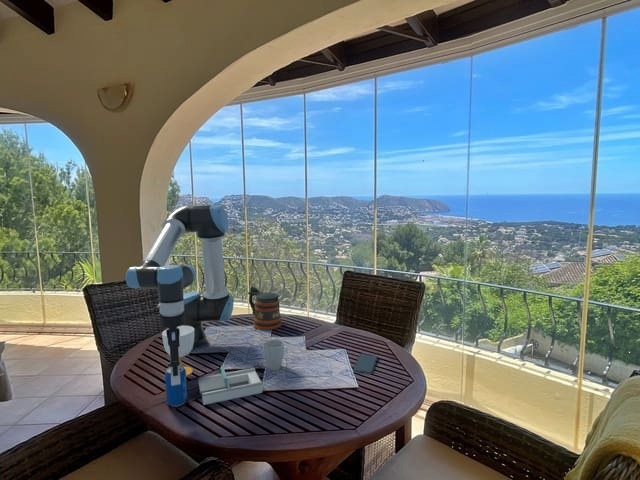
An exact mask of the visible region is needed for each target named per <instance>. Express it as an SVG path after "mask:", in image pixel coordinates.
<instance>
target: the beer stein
mask: <svg viewBox="0 0 640 480" xmlns="http://www.w3.org/2000/svg"><path fill="white" fill-rule="evenodd" d="M247 295H249V296H248V302H249V305H250V308H251V310H252V314H253V316H254V317H253V327H254V328H255V329H257V330H261V331H270V330H271V331H272V330H276V329H278V328H280V327H281V326H282V317H281V313H280V311H281V309H280V299H279V298H280V296H279V294H278V293H275V292H271V291H270V292H269V291H267V292H264V291H260V290H259V289H258V288H257V287H256V286H252V285H251V286H250V290H249V291H248V292H247ZM254 296H255V301H254V302H253V297H254Z"/></svg>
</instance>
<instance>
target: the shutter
mask: <svg viewBox="0 0 640 480" xmlns="http://www.w3.org/2000/svg"><path fill="white" fill-rule="evenodd" d="M225 370H226V369H225V367H224V366H220V374H221V375H219V376H213V377H208V378H203V379H200V378H198V379H197V383H198V387H199V394H200V395H202V394H203V393H206V392H211V391H216V390H221V389H226V388H228V381H227V375H226V373H227V372H226V371H225Z"/></svg>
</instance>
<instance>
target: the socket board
mask: <svg viewBox="0 0 640 480" xmlns="http://www.w3.org/2000/svg"><path fill="white" fill-rule="evenodd" d="M225 373H226V375H227V381H228V388H226V389H221V390H216V391H211V392H206V393H203V394H201V399H202V404H203V405H204V406H205V405H209V404H214V403H219V402H224V401H230V400H234V399H239V398H245V397H249V396H254V395H257V394H261V393H263V381H262V380H261V379H260V377H259V375H258V373H257V372H256V367H251V368H246V369H239V370H236V371H235V370H234V371H229V372H225ZM219 375H221V373H220V374H213V375H207V376H202V377H199V379H203V378H208V377H213V376H219Z"/></svg>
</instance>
